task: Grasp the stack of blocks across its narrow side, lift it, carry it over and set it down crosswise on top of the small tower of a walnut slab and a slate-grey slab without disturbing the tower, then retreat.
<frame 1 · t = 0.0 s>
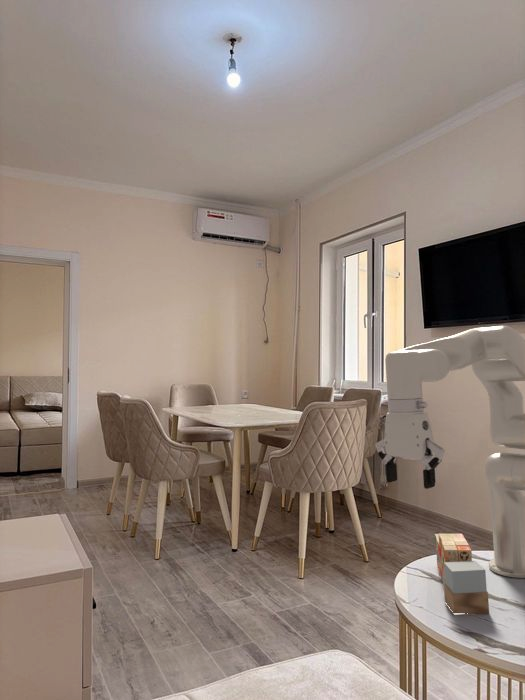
hand: (410, 484, 116), 31 cm above the table, tool pointing down, fingers open, 9 cm apart
stack of blocks: (454, 583, 138), on the table
tower bottom: (466, 609, 123), on the table, touching tower top
tower top: (465, 587, 123), point 5 cm above the table, touching tower bottom
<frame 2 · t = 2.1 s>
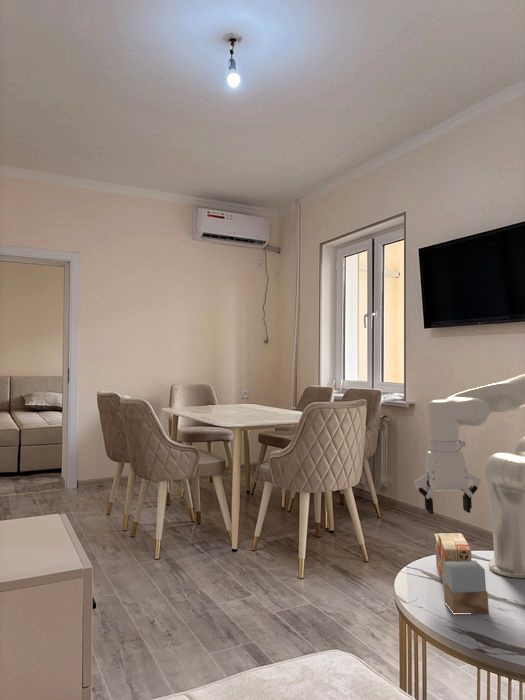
hand: (448, 512, 138), 18 cm above the table, tool pointing down, fingers open, 9 cm apart
tower bottom: (466, 609, 123), on the table
tower top: (464, 587, 123), point 5 cm above the table
everything else where it was.
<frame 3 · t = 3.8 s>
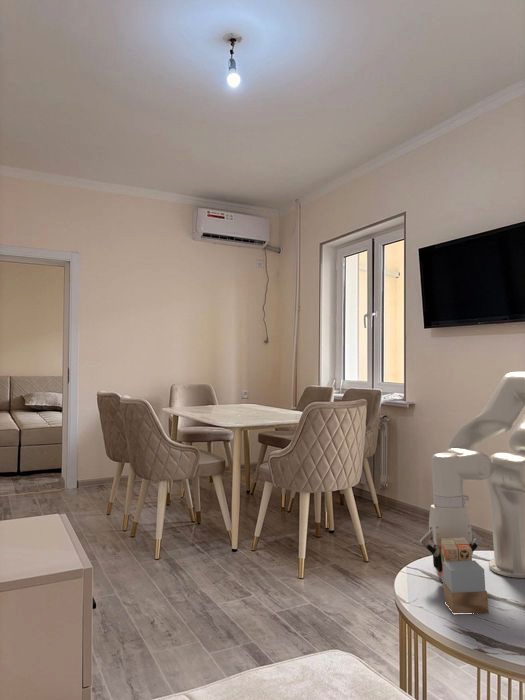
hand: (452, 568, 138), 3 cm above the table, tool pointing down, fingers closed on stack of blocks, 6 cm apart
stack of blocks: (453, 581, 138), on the table, touching gripper
tower bottom: (466, 608, 123), on the table, touching tower top
tower top: (464, 587, 123), point 5 cm above the table, touching tower bottom
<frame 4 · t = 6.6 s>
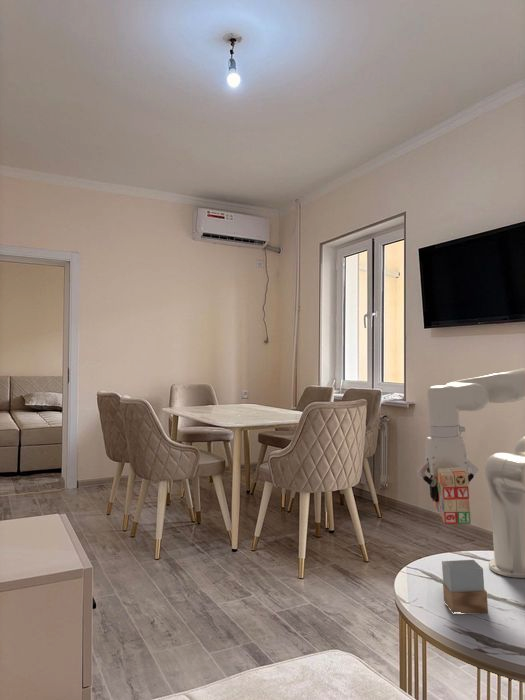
hand: (449, 499, 139), 21 cm above the table, tool pointing down, fingers closed on stack of blocks, 6 cm apart
stack of blocks: (450, 512, 139), point 18 cm above the table, touching gripper
everything else where it was.
when the fingers open (15 cm above the table, at t = 9.7 s): stack of blocks drops 2 cm, resting on tower top.
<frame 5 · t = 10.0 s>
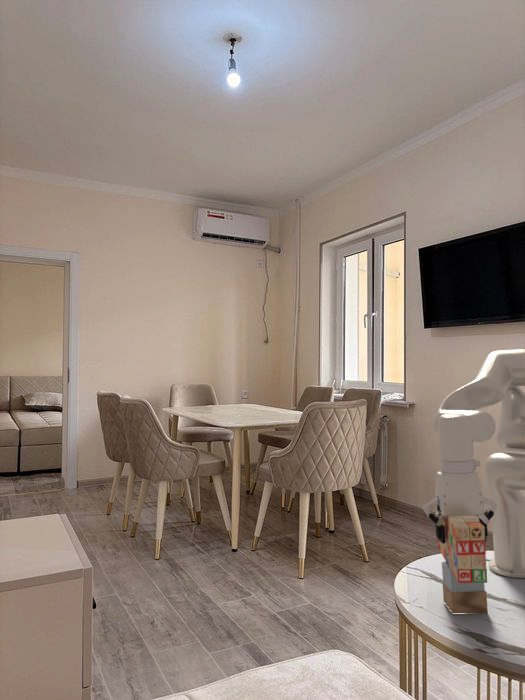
hand: (462, 540, 123), 16 cm above the table, tool pointing down, fingers open, 9 cm apart
stack of blocks: (460, 565, 124), point 10 cm above the table, touching tower top
tower top: (463, 586, 123), point 5 cm above the table, touching stack of blocks, tower bottom
everything else where it was.
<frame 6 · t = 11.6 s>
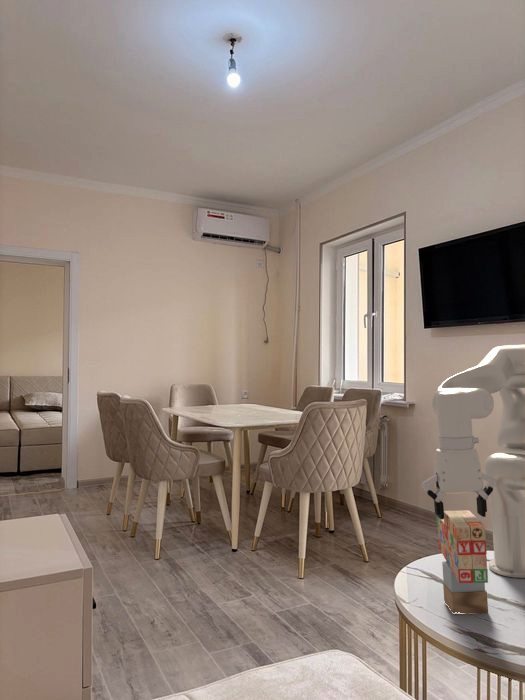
hand: (461, 516, 124), 21 cm above the table, tool pointing down, fingers open, 9 cm apart
nothing on the table moved.
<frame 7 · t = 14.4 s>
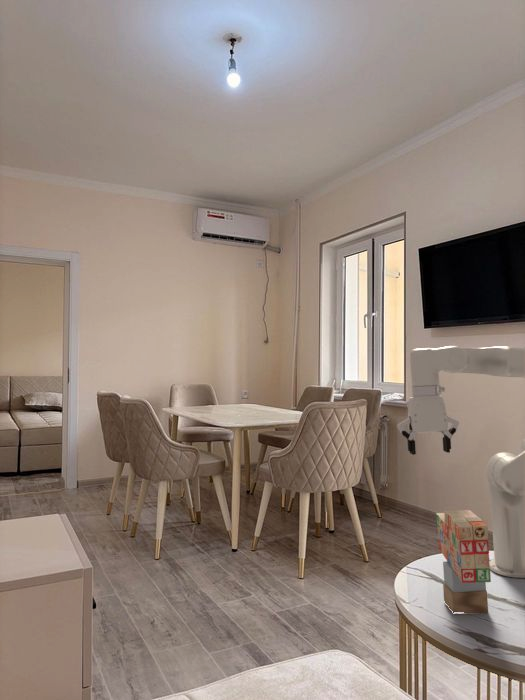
hand: (429, 452, 148), 32 cm above the table, tool pointing down, fingers open, 9 cm apart
nothing on the table moved.
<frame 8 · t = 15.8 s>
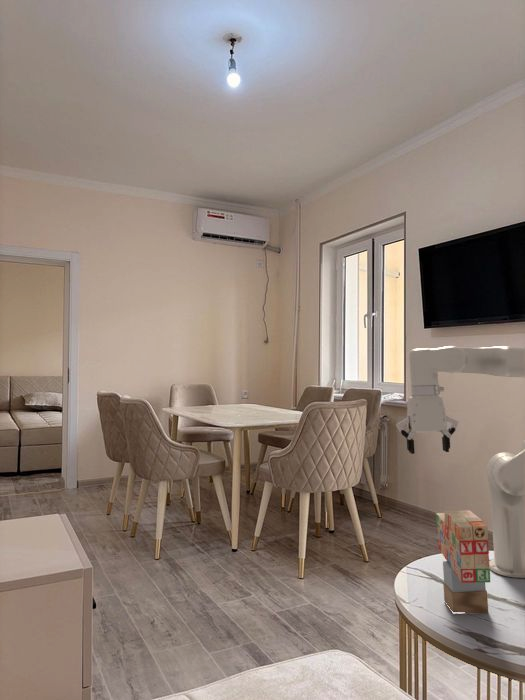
hand: (428, 452, 149), 32 cm above the table, tool pointing down, fingers open, 9 cm apart
nothing on the table moved.
at the end: stack of blocks 0.3 cm off-centre on the tower bottom, point 9.8 cm above the tower bottom's base; stack of blocks tilted 0°; tower top moved 0.6 cm from its start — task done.
